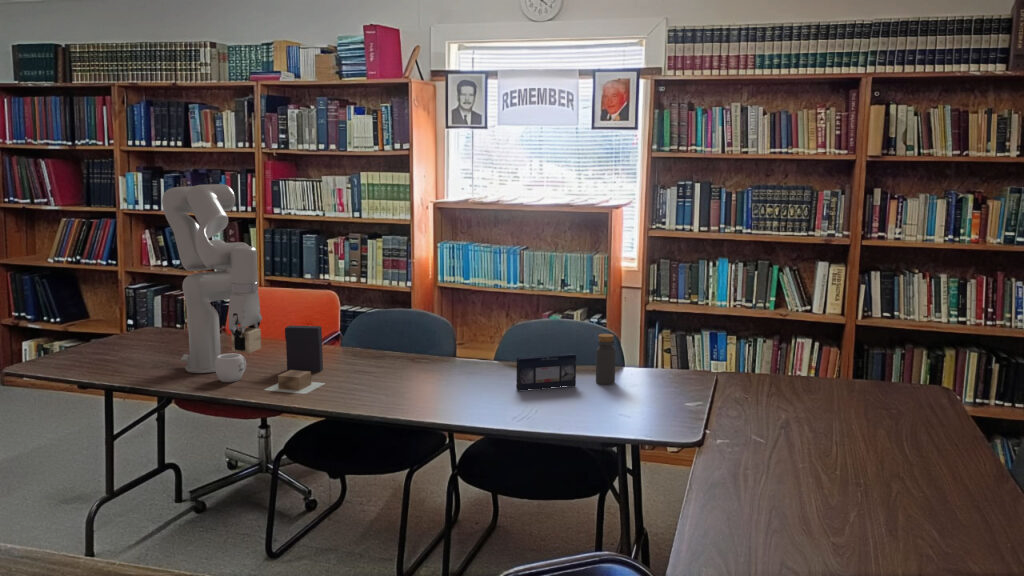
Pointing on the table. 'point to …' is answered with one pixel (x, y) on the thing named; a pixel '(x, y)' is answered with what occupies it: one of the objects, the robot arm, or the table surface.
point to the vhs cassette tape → (546, 371)
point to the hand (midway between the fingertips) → (246, 346)
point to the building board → (302, 391)
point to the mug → (230, 367)
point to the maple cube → (249, 340)
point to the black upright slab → (304, 348)
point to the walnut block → (294, 380)
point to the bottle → (605, 360)
